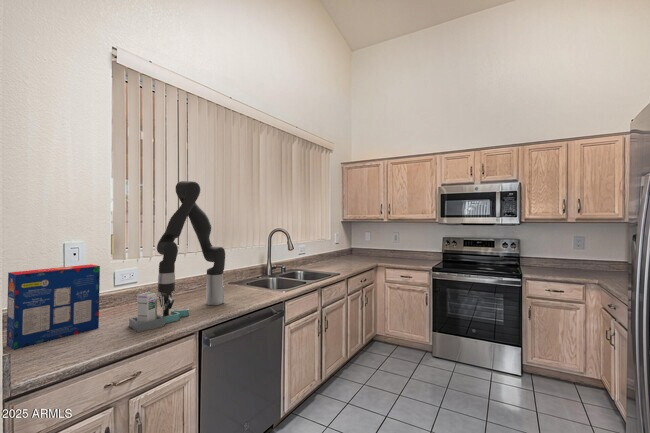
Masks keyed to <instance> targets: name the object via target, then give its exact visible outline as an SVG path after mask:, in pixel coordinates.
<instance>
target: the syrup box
mask: <svg viewBox="0 0 650 433" xmlns="http://www.w3.org/2000/svg"><path fill="white" fill-rule="evenodd" d="M136 296H137V299H136V300H137V301H136V302H137V303H136V304H137V310H136V312H137V313H136V317H137V322H138V323H142V322H147V321H152V320H157V315H158V314H157V313H158V305H157V303H158V293H157V292H154V291H153V292H152V291H146V292H143V293H141V294H137V295H136Z"/></svg>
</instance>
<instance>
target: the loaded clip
mask: <svg viewBox="0 0 650 433" xmlns="http://www.w3.org/2000/svg"><path fill="white" fill-rule="evenodd" d="M175 312H177V313H179V314H180V318H182V317H189V315H190V310H189V307H187V309H186V308H183V309H182V308H180V309H173V308H171V309H170V315H171V314H173V315H175Z"/></svg>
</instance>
